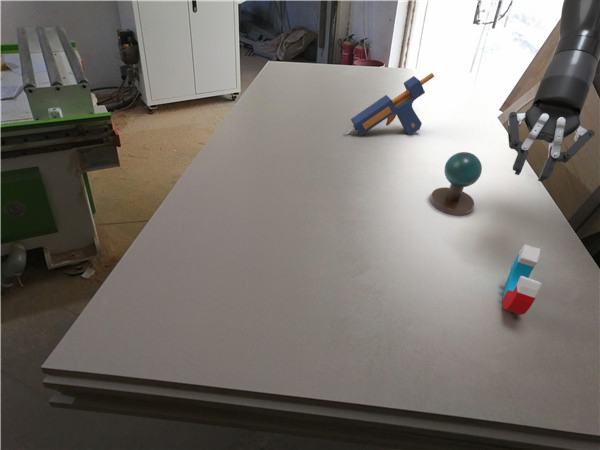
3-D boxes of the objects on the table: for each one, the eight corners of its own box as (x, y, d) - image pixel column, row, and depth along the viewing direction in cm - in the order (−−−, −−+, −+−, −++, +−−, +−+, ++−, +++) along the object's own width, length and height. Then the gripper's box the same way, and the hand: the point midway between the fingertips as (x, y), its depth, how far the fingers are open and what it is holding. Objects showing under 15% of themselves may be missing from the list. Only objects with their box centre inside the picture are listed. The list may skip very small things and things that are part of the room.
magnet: (504, 279, 79) (524, 240, 72) (519, 284, 78) (541, 245, 72) (500, 323, 70) (523, 282, 64) (517, 329, 69) (542, 288, 63)
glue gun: (361, 159, 135) (339, 126, 126) (438, 102, 131) (422, 64, 122) (368, 167, 131) (347, 134, 121) (449, 108, 126) (433, 69, 117)
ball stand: (475, 200, 101) (494, 151, 92) (467, 220, 94) (487, 169, 85) (436, 188, 104) (451, 140, 96) (425, 206, 97) (440, 156, 89)
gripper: (525, 65, 69) (489, 157, 68) (620, 83, 64) (583, 183, 63) (516, 87, 76) (483, 171, 75) (602, 105, 71) (568, 195, 70)
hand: (529, 176), depth 69 cm, fingers open, 3 cm apart
